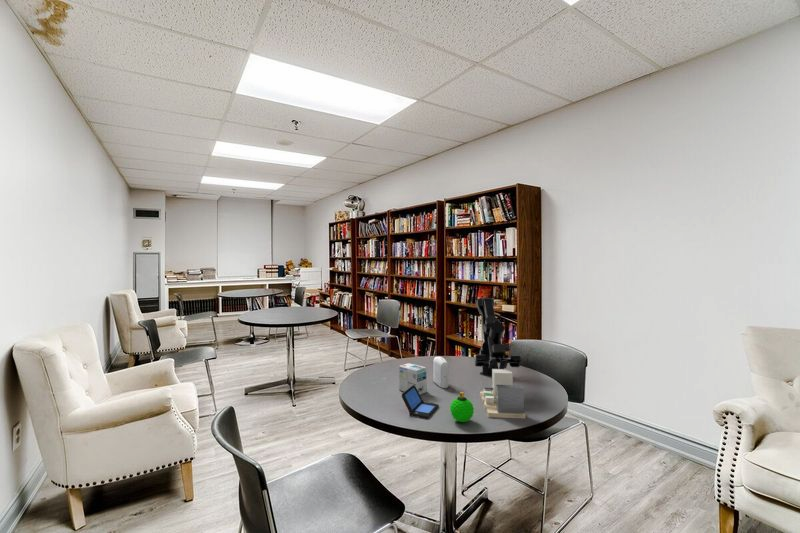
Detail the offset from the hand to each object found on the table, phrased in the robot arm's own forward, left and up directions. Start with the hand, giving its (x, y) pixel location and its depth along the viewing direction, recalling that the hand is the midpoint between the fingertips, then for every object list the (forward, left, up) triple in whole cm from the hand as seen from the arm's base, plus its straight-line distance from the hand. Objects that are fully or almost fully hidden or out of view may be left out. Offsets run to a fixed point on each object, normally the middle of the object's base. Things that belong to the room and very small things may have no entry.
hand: (500, 379), depth 146 cm
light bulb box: (+14, -33, -8) cm, 37 cm away
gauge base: (+8, +3, -7) cm, 12 cm away
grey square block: (+15, +9, -6) cm, 19 cm away
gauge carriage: (+5, +1, -5) cm, 7 cm away
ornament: (+29, -3, -8) cm, 30 cm away
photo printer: (0, -27, -8) cm, 28 cm away
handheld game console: (+29, -20, -8) cm, 37 cm away
